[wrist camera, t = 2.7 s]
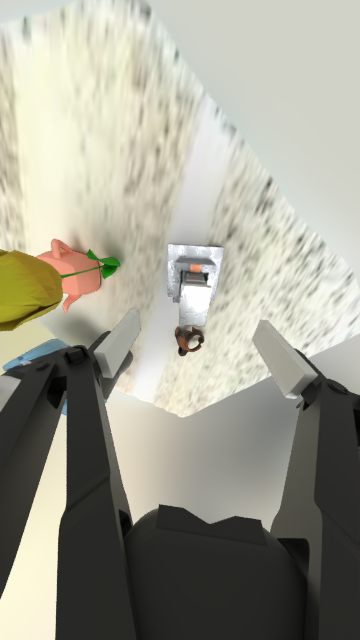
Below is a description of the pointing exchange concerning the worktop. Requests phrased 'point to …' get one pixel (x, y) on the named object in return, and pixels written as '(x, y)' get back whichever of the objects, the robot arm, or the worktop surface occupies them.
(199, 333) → the pottery mug
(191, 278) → the column
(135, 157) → the worktop surface
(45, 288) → the flower
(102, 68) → the worktop surface
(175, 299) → the stand base
